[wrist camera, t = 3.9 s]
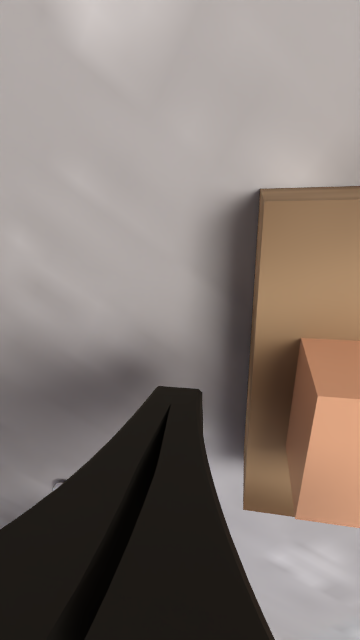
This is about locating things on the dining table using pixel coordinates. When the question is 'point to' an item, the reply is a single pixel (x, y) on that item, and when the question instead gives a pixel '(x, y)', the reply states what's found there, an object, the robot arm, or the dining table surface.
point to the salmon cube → (326, 432)
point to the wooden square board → (295, 318)
